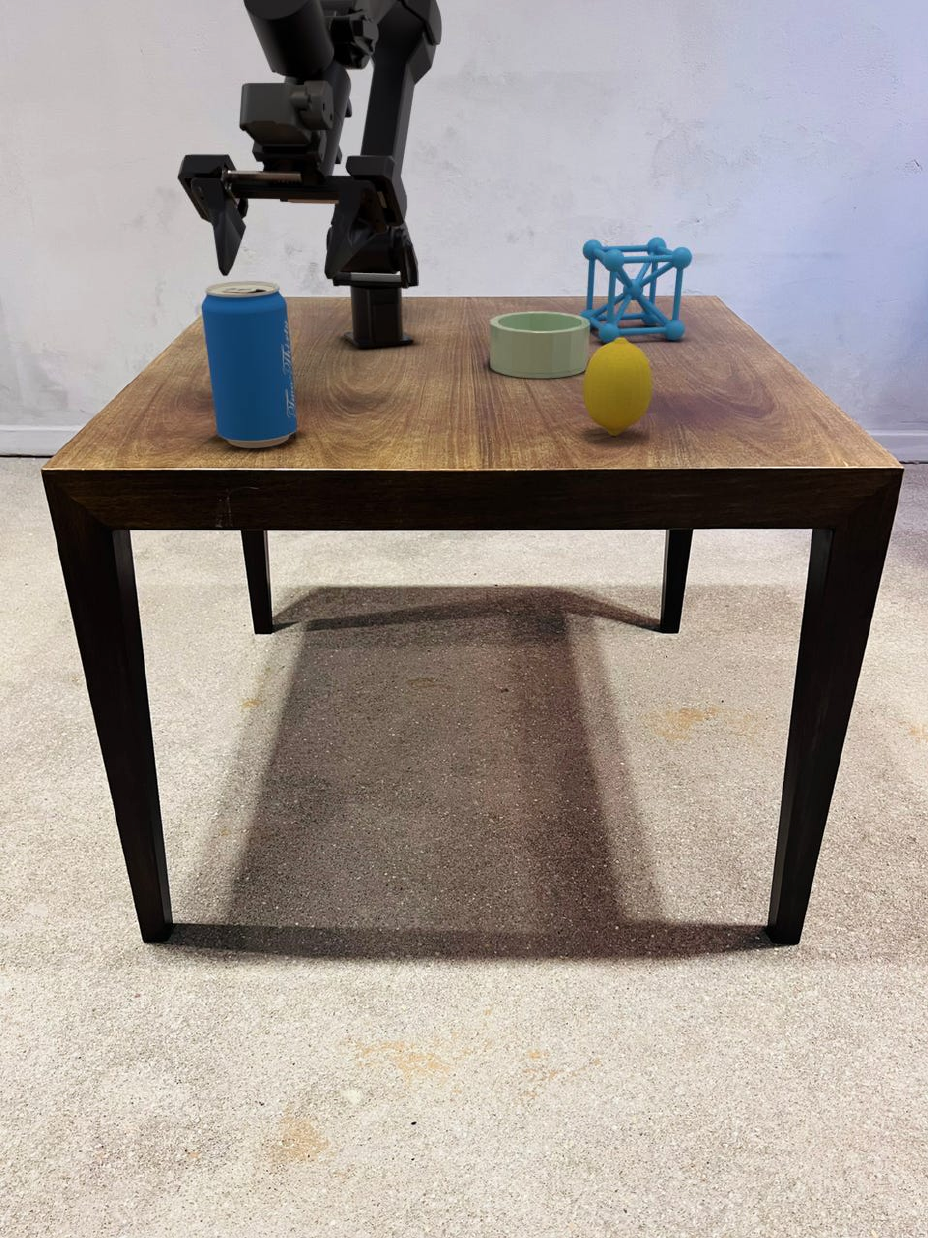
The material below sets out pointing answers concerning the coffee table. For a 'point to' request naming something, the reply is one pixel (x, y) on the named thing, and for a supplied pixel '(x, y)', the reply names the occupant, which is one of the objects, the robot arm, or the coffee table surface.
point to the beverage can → (250, 363)
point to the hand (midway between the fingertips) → (274, 274)
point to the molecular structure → (635, 288)
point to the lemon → (617, 386)
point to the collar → (539, 344)
